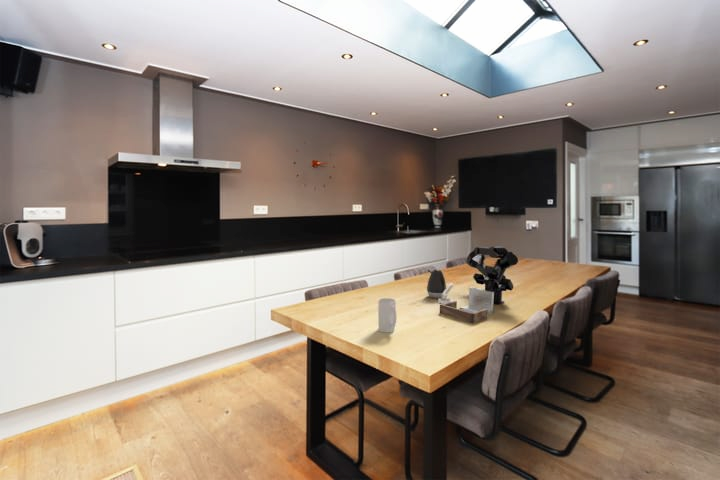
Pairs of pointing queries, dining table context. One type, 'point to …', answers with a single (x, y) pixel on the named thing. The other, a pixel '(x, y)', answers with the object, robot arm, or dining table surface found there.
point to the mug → (386, 315)
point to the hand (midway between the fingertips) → (485, 295)
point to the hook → (445, 295)
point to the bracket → (479, 300)
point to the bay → (462, 313)
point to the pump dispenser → (436, 284)
